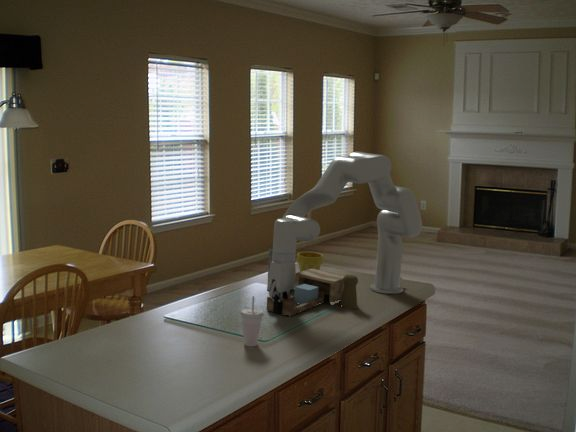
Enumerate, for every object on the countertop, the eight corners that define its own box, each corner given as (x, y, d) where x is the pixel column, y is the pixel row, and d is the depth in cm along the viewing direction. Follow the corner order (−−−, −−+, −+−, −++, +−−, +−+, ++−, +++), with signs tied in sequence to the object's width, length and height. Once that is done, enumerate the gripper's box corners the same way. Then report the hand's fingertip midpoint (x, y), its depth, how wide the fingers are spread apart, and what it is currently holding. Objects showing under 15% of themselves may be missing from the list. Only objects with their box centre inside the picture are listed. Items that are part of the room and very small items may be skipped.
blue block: (303, 300, 232) (304, 283, 231) (317, 303, 229) (318, 287, 228) (293, 303, 227) (294, 286, 227) (308, 307, 224) (309, 290, 223)
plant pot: (319, 282, 258) (320, 258, 257) (293, 279, 260) (294, 255, 259) (323, 276, 268) (325, 253, 267) (299, 273, 270) (300, 250, 269)
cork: (357, 304, 231) (359, 274, 229) (357, 309, 225) (359, 278, 223) (339, 303, 231) (342, 272, 230) (339, 308, 225) (341, 276, 224)
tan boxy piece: (309, 290, 245) (311, 268, 244) (347, 299, 237) (349, 276, 235) (294, 296, 237) (295, 273, 235) (332, 305, 228) (334, 281, 227)
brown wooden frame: (301, 297, 234) (301, 285, 234) (323, 303, 229) (324, 290, 228) (266, 310, 217) (267, 297, 216) (290, 316, 212) (290, 303, 211)
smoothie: (241, 348, 181) (244, 299, 179) (237, 340, 187) (239, 293, 185) (264, 347, 183) (266, 299, 181) (259, 339, 189) (261, 292, 187)
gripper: (288, 251, 221) (285, 304, 224) (259, 258, 208) (256, 314, 211) (307, 255, 217) (303, 308, 220) (279, 262, 204) (275, 319, 207)
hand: (280, 311), depth 215 cm, fingers closed on brown wooden frame, 3 cm apart
